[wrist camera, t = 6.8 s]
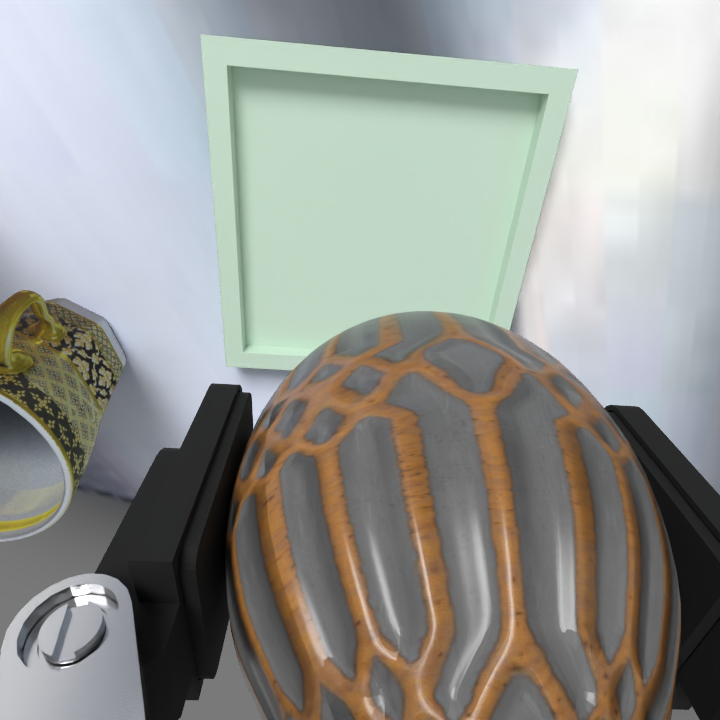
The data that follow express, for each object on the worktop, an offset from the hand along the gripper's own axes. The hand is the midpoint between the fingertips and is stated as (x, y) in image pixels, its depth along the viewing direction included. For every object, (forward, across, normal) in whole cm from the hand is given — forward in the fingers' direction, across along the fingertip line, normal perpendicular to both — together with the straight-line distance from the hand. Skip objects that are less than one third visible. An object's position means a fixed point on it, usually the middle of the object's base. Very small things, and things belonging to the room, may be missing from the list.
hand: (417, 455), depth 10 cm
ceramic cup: (+18, +17, +7) cm, 26 cm away
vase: (+2, 0, 0) cm, 2 cm away
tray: (+18, 0, 0) cm, 18 cm away
